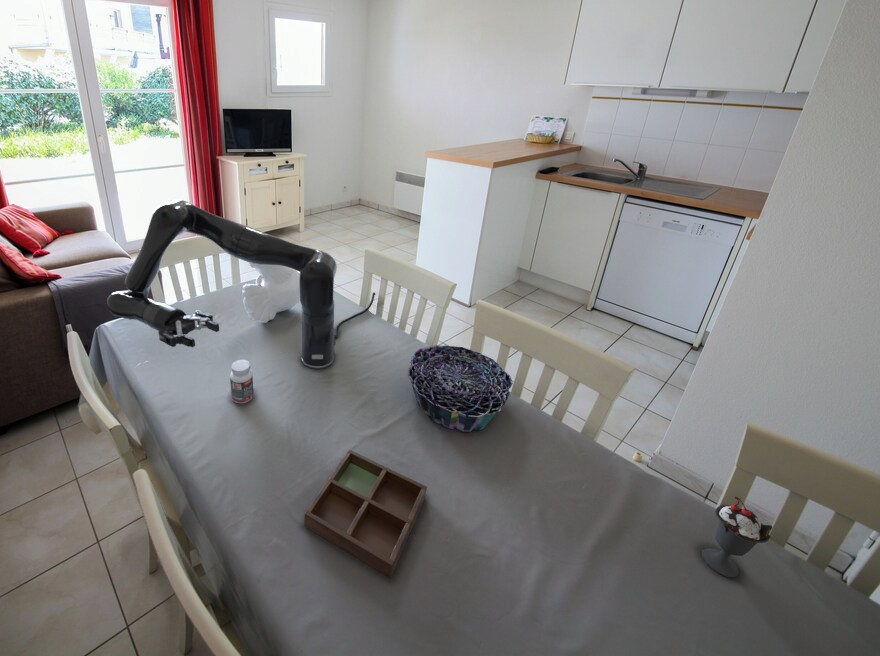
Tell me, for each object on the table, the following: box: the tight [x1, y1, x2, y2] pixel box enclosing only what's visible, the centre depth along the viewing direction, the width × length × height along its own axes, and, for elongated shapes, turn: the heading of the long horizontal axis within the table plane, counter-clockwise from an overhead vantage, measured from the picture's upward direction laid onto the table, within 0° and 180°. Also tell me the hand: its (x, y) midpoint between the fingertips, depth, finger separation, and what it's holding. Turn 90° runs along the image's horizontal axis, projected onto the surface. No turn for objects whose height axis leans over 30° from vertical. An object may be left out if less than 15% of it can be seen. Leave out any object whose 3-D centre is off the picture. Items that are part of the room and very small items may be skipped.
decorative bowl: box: [407, 344, 514, 433], centre depth 110 cm, size 26×28×10 cm
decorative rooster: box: [241, 262, 300, 324], centre depth 148 cm, size 25×16×25 cm
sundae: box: [701, 496, 773, 578], centre depth 72 cm, size 7×7×15 cm
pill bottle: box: [229, 359, 255, 404], centre depth 110 cm, size 6×6×10 cm
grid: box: [304, 449, 428, 579], centre depth 82 cm, size 17×17×3 cm
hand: (206, 335), depth 112 cm, fingers open, 8 cm apart
